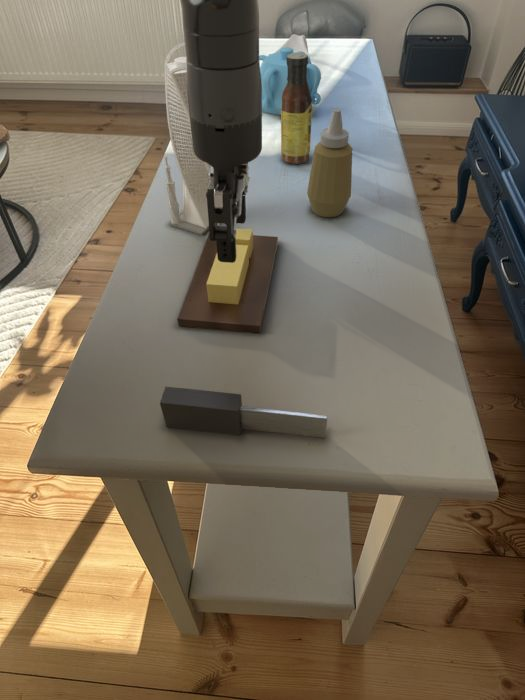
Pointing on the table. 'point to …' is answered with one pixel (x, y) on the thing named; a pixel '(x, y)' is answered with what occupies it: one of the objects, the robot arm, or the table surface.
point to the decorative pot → (283, 80)
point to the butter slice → (245, 238)
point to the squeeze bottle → (331, 170)
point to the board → (252, 297)
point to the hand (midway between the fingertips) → (232, 240)
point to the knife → (232, 414)
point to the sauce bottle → (296, 111)
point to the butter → (228, 278)
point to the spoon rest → (297, 44)
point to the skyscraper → (184, 152)
